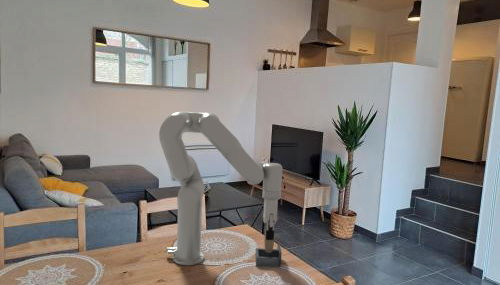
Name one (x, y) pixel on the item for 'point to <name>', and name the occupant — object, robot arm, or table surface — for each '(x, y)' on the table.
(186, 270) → the table surface
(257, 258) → the box
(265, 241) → the handle
